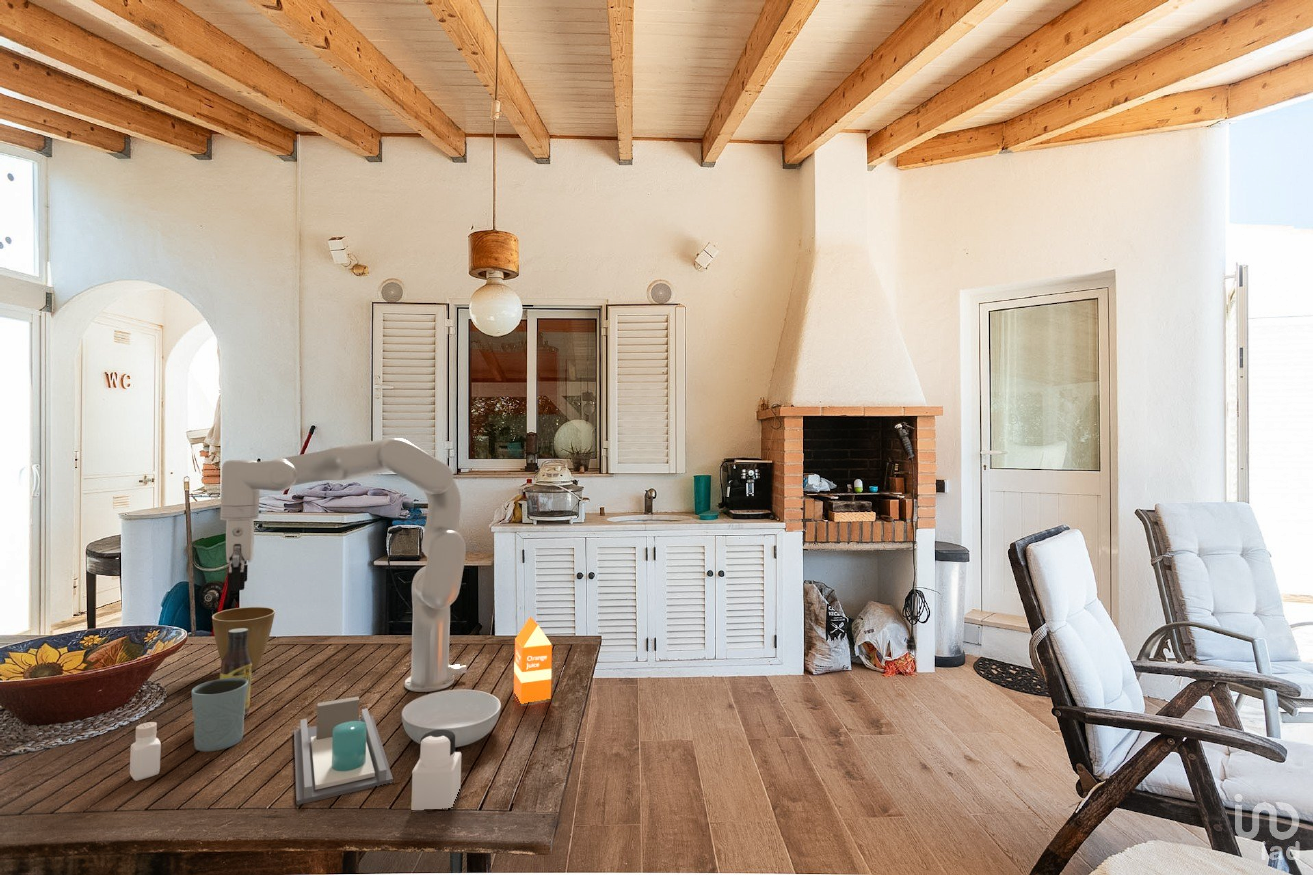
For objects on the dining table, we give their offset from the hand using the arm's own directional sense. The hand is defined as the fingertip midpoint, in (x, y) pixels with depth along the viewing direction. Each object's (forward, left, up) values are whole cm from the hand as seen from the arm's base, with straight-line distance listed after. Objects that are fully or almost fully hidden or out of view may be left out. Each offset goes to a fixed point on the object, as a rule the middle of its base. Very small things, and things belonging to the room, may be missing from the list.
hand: (237, 585), depth 149 cm
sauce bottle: (0, -1, -31) cm, 31 cm away
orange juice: (-65, +21, -31) cm, 75 cm away
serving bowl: (-42, +34, -31) cm, 62 cm away
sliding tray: (-20, +35, -31) cm, 50 cm away
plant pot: (0, -35, -31) cm, 47 cm away
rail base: (-20, +32, -31) cm, 48 cm away
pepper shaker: (+13, +23, -31) cm, 40 cm away
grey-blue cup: (+2, +13, -31) cm, 33 cm away
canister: (-21, +40, -29) cm, 53 cm away
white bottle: (-34, +58, -31) cm, 74 cm away
